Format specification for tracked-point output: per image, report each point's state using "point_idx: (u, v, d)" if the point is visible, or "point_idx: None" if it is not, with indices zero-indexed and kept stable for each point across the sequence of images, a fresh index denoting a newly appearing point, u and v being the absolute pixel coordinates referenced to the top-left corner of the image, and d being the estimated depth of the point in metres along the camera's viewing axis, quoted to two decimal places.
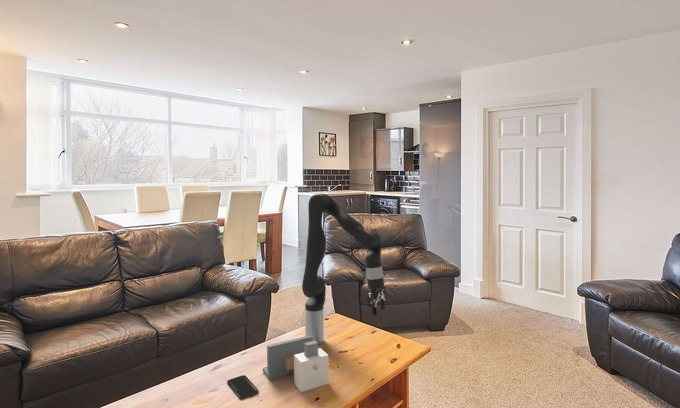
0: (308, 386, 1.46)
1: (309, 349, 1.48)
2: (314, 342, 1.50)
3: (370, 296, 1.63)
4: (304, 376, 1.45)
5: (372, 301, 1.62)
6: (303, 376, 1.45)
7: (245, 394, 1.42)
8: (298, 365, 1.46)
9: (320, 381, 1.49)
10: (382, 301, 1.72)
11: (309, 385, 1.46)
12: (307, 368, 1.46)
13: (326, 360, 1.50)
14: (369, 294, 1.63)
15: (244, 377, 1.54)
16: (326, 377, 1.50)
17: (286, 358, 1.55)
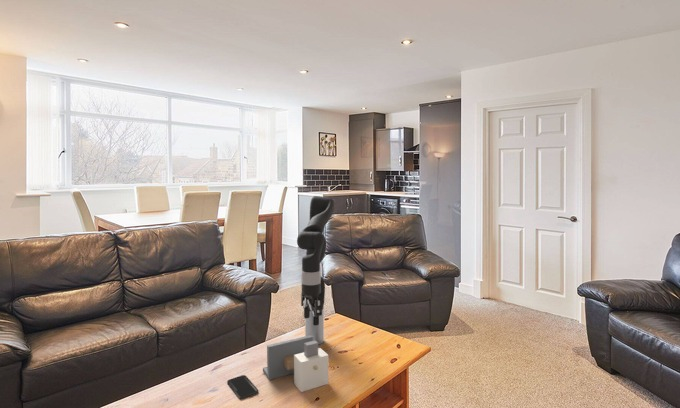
0: (308, 386, 1.46)
1: (309, 349, 1.48)
2: (314, 342, 1.50)
3: None
4: (304, 376, 1.45)
5: (301, 299, 1.54)
6: (303, 376, 1.45)
7: (245, 394, 1.42)
8: (298, 365, 1.46)
9: (320, 381, 1.49)
10: None
11: (309, 385, 1.46)
12: (307, 368, 1.46)
13: (326, 360, 1.50)
14: None
15: (244, 377, 1.54)
16: (326, 377, 1.50)
17: (286, 358, 1.55)
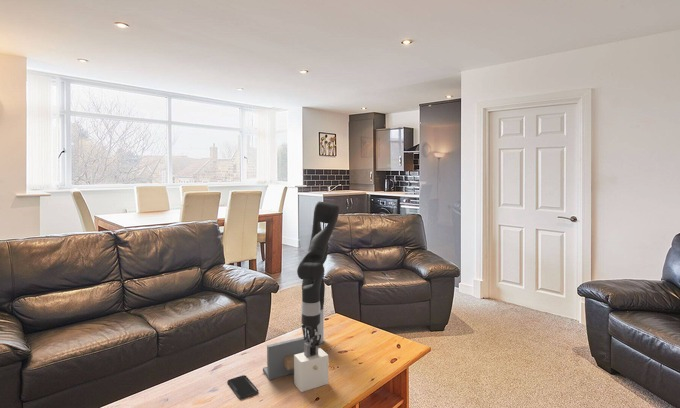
0: (308, 386, 1.46)
1: (309, 349, 1.48)
2: None
3: None
4: (304, 376, 1.45)
5: (303, 333, 1.53)
6: (303, 376, 1.45)
7: (245, 394, 1.42)
8: (298, 365, 1.46)
9: (320, 381, 1.49)
10: None
11: (309, 385, 1.46)
12: (307, 368, 1.46)
13: (326, 360, 1.50)
14: None
15: (244, 377, 1.54)
16: (326, 377, 1.50)
17: (286, 358, 1.55)
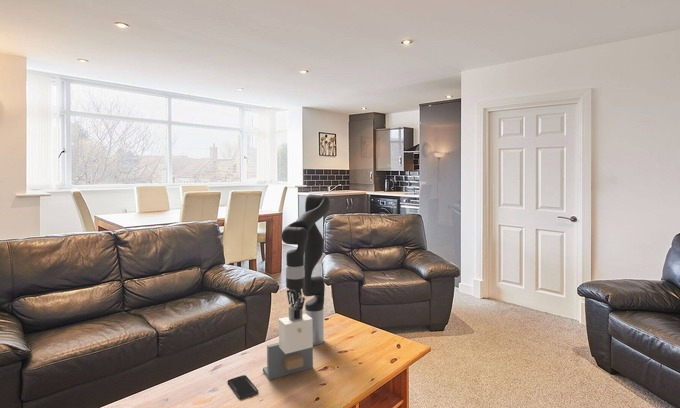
0: (292, 348, 1.49)
1: None
2: None
3: None
4: (288, 338, 1.48)
5: (288, 298, 1.56)
6: (287, 338, 1.48)
7: (245, 394, 1.42)
8: (282, 328, 1.49)
9: (304, 344, 1.52)
10: None
11: (293, 347, 1.49)
12: (291, 330, 1.48)
13: (310, 324, 1.52)
14: None
15: (244, 377, 1.54)
16: (310, 340, 1.53)
17: (286, 358, 1.55)
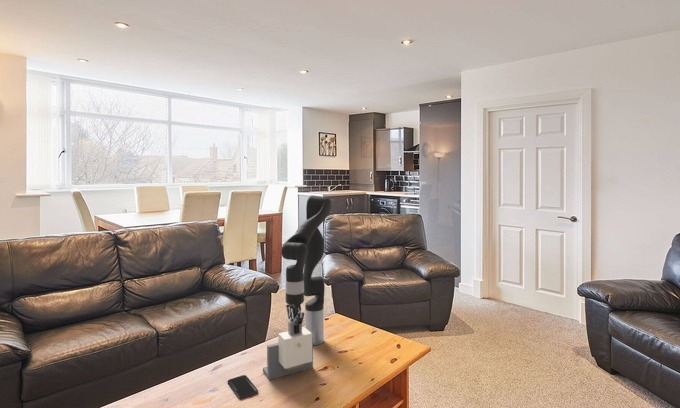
0: (291, 363, 1.50)
1: (293, 327, 1.52)
2: None
3: None
4: (288, 353, 1.49)
5: None
6: (287, 353, 1.49)
7: (245, 394, 1.42)
8: (282, 343, 1.50)
9: (304, 359, 1.53)
10: None
11: (292, 362, 1.50)
12: (291, 345, 1.49)
13: (310, 338, 1.53)
14: None
15: (244, 377, 1.54)
16: (310, 355, 1.54)
17: None
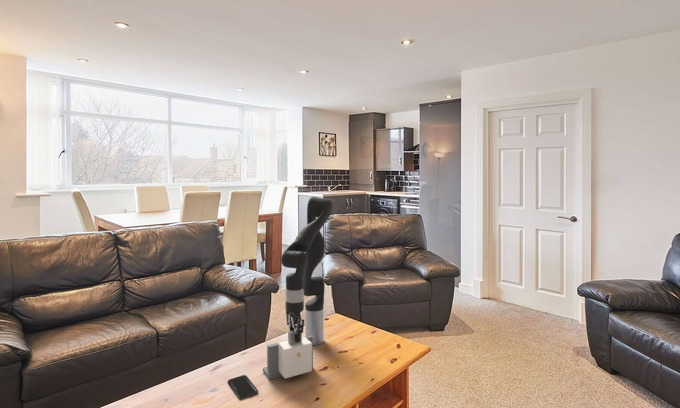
0: (291, 373, 1.50)
1: (293, 337, 1.52)
2: None
3: None
4: (287, 363, 1.49)
5: None
6: (286, 363, 1.49)
7: (244, 394, 1.42)
8: (282, 353, 1.50)
9: (303, 368, 1.53)
10: None
11: (292, 372, 1.50)
12: (291, 355, 1.50)
13: (309, 348, 1.54)
14: None
15: (244, 377, 1.54)
16: (309, 364, 1.54)
17: None
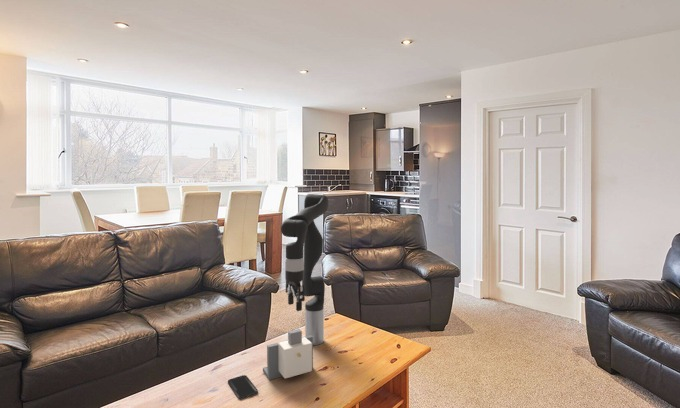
0: (291, 373, 1.50)
1: (293, 337, 1.52)
2: (298, 330, 1.54)
3: None
4: (287, 363, 1.49)
5: None
6: (286, 363, 1.49)
7: (244, 394, 1.42)
8: (282, 353, 1.50)
9: (303, 368, 1.53)
10: None
11: (292, 372, 1.50)
12: (291, 355, 1.50)
13: (309, 348, 1.54)
14: None
15: (244, 377, 1.54)
16: (309, 364, 1.54)
17: None
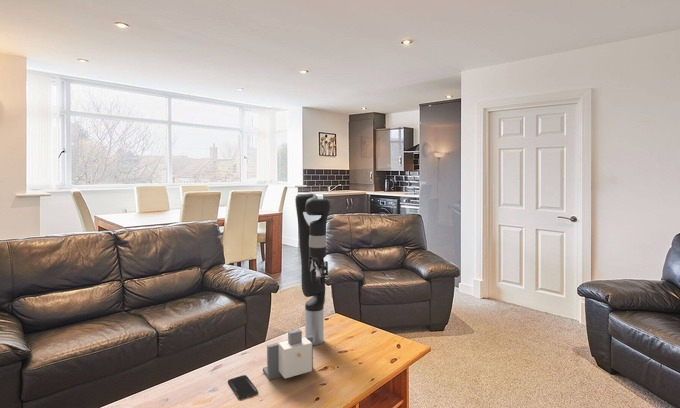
0: (291, 373, 1.50)
1: (293, 337, 1.52)
2: (298, 330, 1.54)
3: None
4: (287, 363, 1.49)
5: (308, 263, 1.66)
6: (286, 363, 1.49)
7: (244, 394, 1.42)
8: (282, 353, 1.50)
9: (303, 368, 1.53)
10: None
11: (292, 372, 1.50)
12: (291, 355, 1.50)
13: (309, 348, 1.54)
14: None
15: (244, 377, 1.54)
16: (309, 364, 1.54)
17: None
